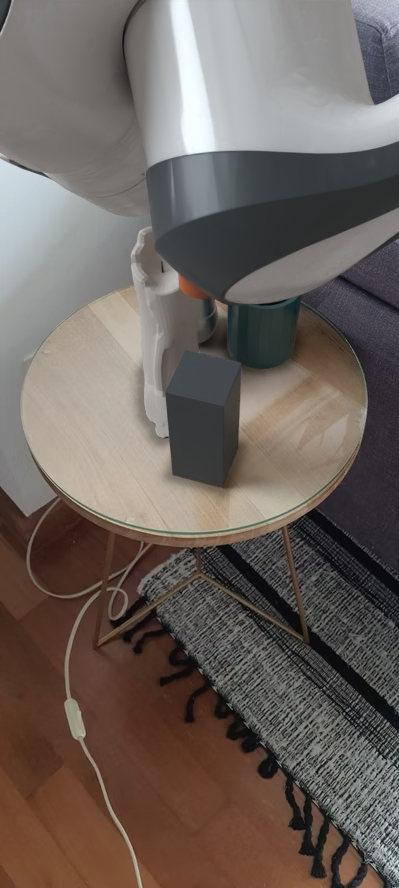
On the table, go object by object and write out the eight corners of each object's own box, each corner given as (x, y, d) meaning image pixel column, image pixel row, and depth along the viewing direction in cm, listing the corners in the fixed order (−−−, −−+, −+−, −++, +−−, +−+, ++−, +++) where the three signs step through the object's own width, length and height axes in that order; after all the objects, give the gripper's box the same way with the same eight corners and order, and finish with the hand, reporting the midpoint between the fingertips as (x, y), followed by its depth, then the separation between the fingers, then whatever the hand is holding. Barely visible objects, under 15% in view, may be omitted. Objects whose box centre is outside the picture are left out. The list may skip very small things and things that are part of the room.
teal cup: (301, 329, 91) (309, 268, 84) (285, 375, 86) (292, 315, 78) (237, 315, 93) (239, 254, 85) (218, 360, 88) (218, 300, 80)
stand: (238, 447, 80) (241, 362, 69) (223, 488, 76) (224, 406, 65) (189, 435, 81) (185, 349, 70) (172, 475, 77) (164, 391, 66)
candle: (143, 439, 81) (125, 308, 65) (144, 355, 89) (128, 221, 73) (204, 436, 81) (201, 305, 65) (200, 352, 89) (196, 218, 73)
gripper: (314, 112, 36) (347, 186, 49) (-3, 45, 42) (102, 127, 55) (276, 231, 37) (318, 273, 50) (-28, 150, 43) (81, 206, 56)
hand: (203, 196), depth 53 cm, fingers closed on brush, 2 cm apart
